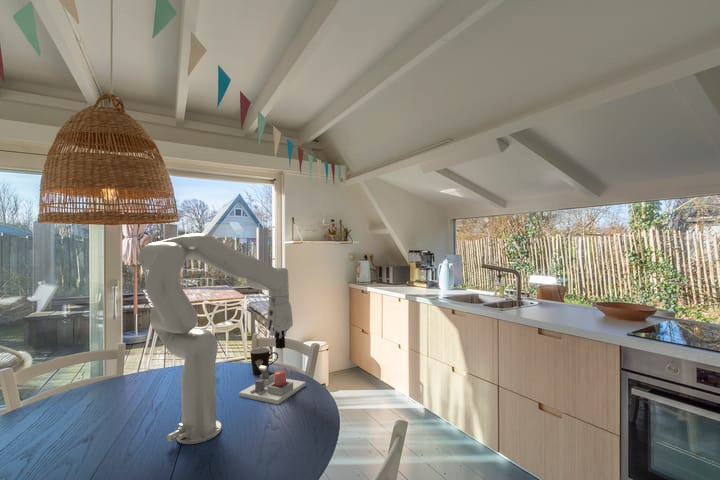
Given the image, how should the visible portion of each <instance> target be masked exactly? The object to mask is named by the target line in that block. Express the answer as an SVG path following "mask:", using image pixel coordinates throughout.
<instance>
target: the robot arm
mask: <svg viewBox="0 0 720 480" xmlns="http://www.w3.org/2000/svg"><path fill="white" fill-rule="evenodd" d="M137 256H138V257H137V259H138V263H139V265H140V266H141V267H142V268H143V269H146V270H147V271H148V272H147V275H146V279H145V290H146V294H147V296H148V298H149V300H150V302H151V304H152V308H151V310H150V312H149V322H150V325H151V327H152V329H153V330H154V332H155V334H156V335H157V337H158V338H159V339H160V341H161V342H162V344H163V345H164V347H165V348H166V349H167V351H168V352H169V353H170V354H171V355H173V356H175V357H177V358H180V359H183V360H184V362H183V367H182V369H181V370H182V371H181V375H180V376H181V377H180V388H181V389H180V390H181V391H180V392H181V393H180V394H181V422H180V423H179V424H178V428H177V429H176V430H175V431H173V432H171V433H169V434H168V435H166V440H167V442H172V441H174V440H176V441H177V442H178V443H180V444H183V445H195V444H201V443H204V442H207V441H209V440H212V439H213V438H215V437H217V436H218V434H220V433H221V431H222V422H220V421H219V420H217V408H216V407H217V403H216V402H217V401H216V399H217V397H216V395H217V394H216V361H217V356H218V355H217V354H218V349H219V343H218V339H217V337H216V336H215V335H214V334H213V333H212V332H210V331H208V330H206V329H202V328H197V324H198V320H199V318H198V313H197V311H196V308H195V307H194V306H193V304H192V302H191V300H190V299H189V297H188V295H187V294H186V292H185V291H184V288H183V287H182V284H181V281H180V277H181V276H180V275H181V272H182V270H183V267H184V265H185V264H186V263H185V262H188V261H190V260H191V261H196V260H197V261H200V262H201V263H204V264H206V265H207V266H210V267H211V268H214V269H215V270H217V271H219V272H221V273H223V274H225V275H228V276H231V277H236V278H237V277H238V278H242V279H245V280H246V284H247V285H248V287H249V288H251V289H253V290H261V291H268V309H267V330H268V331H269V336H273V337H274V339H275V348H276V349H279V350H280V349H281V350H282V349H285V347H286V336H287V331H289V330H290V328H292V327H293V324H294V323H293V322H294V321H293V311H292V306H291V302H290V293H289V292H290V291H289V290H290V289H289V287H290V286H289V269H288V268H286V267H274V266H272V265H271V264H269V263H266V262H265V261H263V260H262V259H258V258H256V257H252V256H250V255H248V254H246V253H243V252H241V251H238V250H237V249H235V248H233V247H231V246H229V245H228V244H226V243H225V242H223V241H221V240H220V239H218V238H216V237H214V236H213V235H212V234H211V235H210V234H208V233H205V232H204V233H203V232H201V233H200V232H199V233H187V234H183V235H180V236H175V237H171V238H168V239H163V240H160V241H154V242H151V243H148V244H146V245H144V246H143V247H142V248H141V249H140V250H139V252H138V255H137ZM195 327H196V328H195Z"/></svg>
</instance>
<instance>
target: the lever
mask: <svg viewBox="0 0 720 480" xmlns="http://www.w3.org/2000/svg"><path fill="white" fill-rule="evenodd" d="M259 370H260V371H261V373H262V376H263V378H264V379H267V380H268V377H269V376H271V375H270V373H269V369H268V370H267V366H263V365H260V367H259Z"/></svg>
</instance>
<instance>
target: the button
mask: <svg viewBox="0 0 720 480" xmlns="http://www.w3.org/2000/svg"><path fill="white" fill-rule="evenodd" d="M273 374H274V380H275V386H277V387H281V386H285V385H286V379H287V371H286V370H276V371H274V373H273Z"/></svg>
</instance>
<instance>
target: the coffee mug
mask: <svg viewBox="0 0 720 480" xmlns="http://www.w3.org/2000/svg"><path fill="white" fill-rule="evenodd" d="M270 351H271V349H270V348H269V347H256V348H253V349H251V350H249V354H250V360H251V361H250V362H251V367H252V368H251V369H252V374H253V375H254V376H260V375H261V374H262V373H261V371H260V370H259V367H260V365H263V366H267V370H268V371H269V368H270V366H271V365H273V364H274V363H276V361H277V360H278V359H279V354H278V352H275V351H274V352H273V351H272V352H270ZM273 354H275V355H276V356H277V357H276V358H275V359H274V360H272V362H271V363H270V361H269V360H270V357H271V356H272V355H273Z"/></svg>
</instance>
